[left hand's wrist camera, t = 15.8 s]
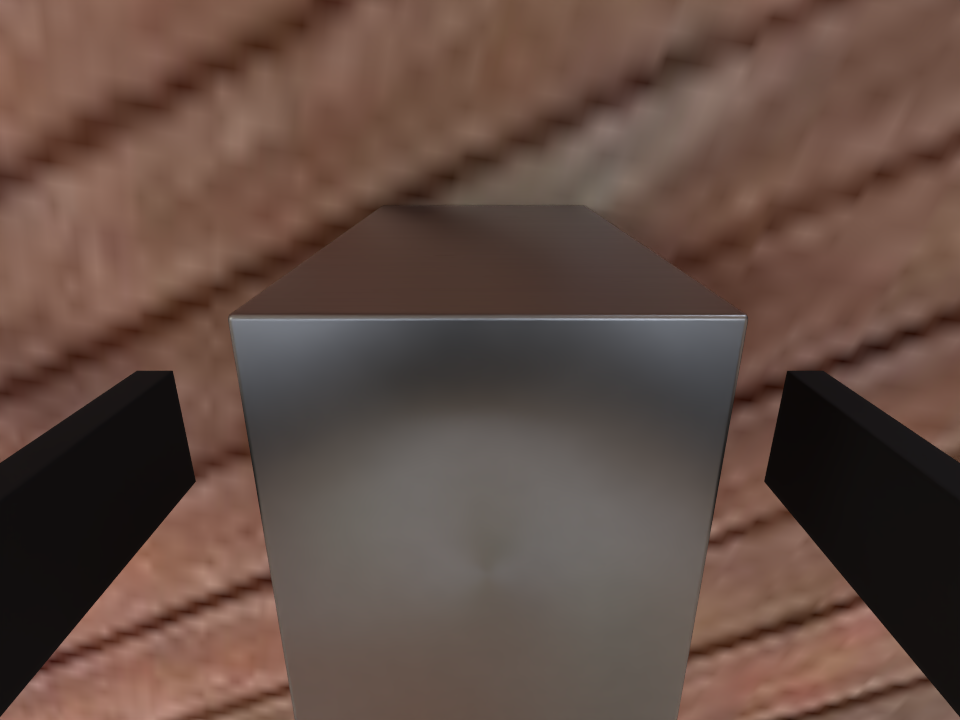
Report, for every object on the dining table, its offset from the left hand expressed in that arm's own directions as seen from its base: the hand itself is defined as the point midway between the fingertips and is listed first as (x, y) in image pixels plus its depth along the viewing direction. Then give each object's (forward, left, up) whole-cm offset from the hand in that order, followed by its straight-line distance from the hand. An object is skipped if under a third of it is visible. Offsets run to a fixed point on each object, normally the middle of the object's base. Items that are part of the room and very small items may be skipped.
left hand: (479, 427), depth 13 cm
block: (0, 0, -7) cm, 7 cm away
